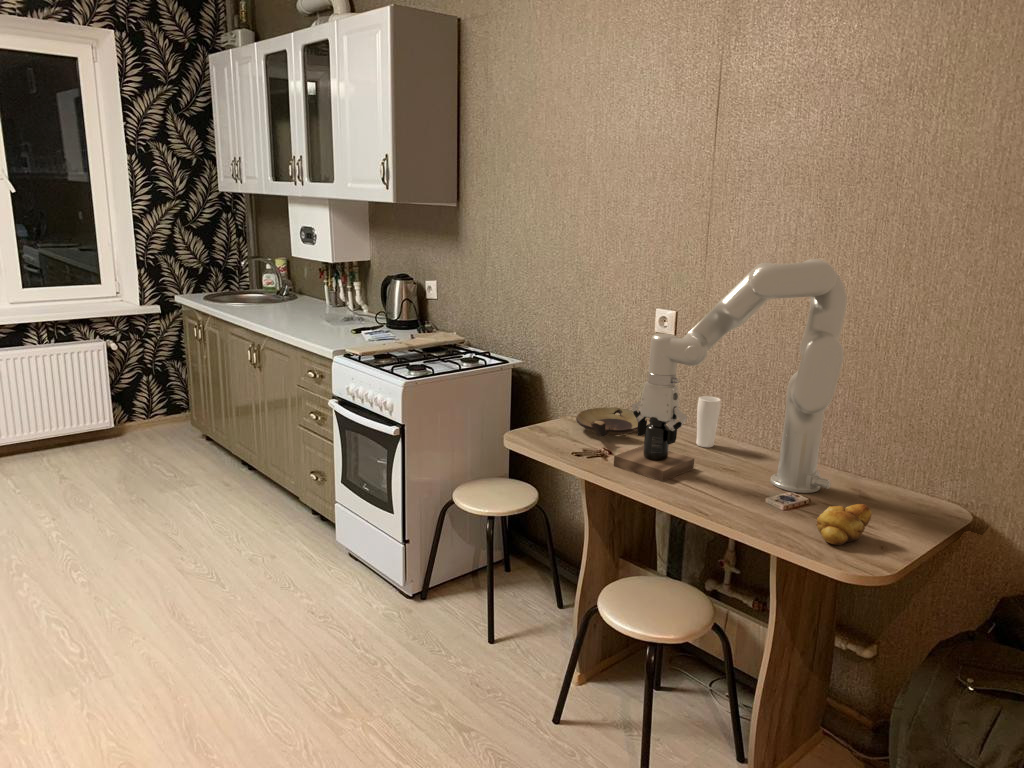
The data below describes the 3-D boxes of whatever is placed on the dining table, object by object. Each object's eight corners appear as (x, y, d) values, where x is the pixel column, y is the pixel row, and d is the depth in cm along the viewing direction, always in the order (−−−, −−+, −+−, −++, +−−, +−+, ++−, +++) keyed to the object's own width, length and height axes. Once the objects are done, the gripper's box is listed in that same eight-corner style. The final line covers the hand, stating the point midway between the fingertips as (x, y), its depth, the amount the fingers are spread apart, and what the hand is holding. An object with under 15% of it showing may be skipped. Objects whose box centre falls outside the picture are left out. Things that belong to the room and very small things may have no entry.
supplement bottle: (672, 457, 210) (676, 416, 208) (659, 463, 205) (663, 420, 203) (651, 451, 215) (654, 411, 212) (638, 456, 210) (641, 415, 207)
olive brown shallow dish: (660, 432, 245) (662, 410, 243) (603, 451, 224) (605, 426, 222) (605, 417, 260) (607, 396, 258) (548, 433, 239) (549, 410, 237)
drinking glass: (714, 442, 236) (719, 396, 233) (717, 449, 229) (722, 402, 226) (692, 441, 237) (696, 395, 233) (695, 448, 230) (700, 400, 227)
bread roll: (843, 552, 162) (849, 518, 160) (802, 537, 169) (806, 503, 167) (871, 538, 170) (876, 505, 168) (830, 523, 178) (835, 491, 176)
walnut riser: (693, 468, 211) (694, 458, 211) (662, 481, 200) (663, 471, 199) (645, 454, 222) (646, 444, 221) (613, 465, 211) (614, 455, 210)
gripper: (696, 383, 202) (690, 443, 206) (642, 371, 214) (637, 429, 218) (681, 387, 197) (675, 449, 201) (627, 375, 208) (622, 434, 212)
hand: (656, 439), depth 209 cm, fingers open, 9 cm apart
